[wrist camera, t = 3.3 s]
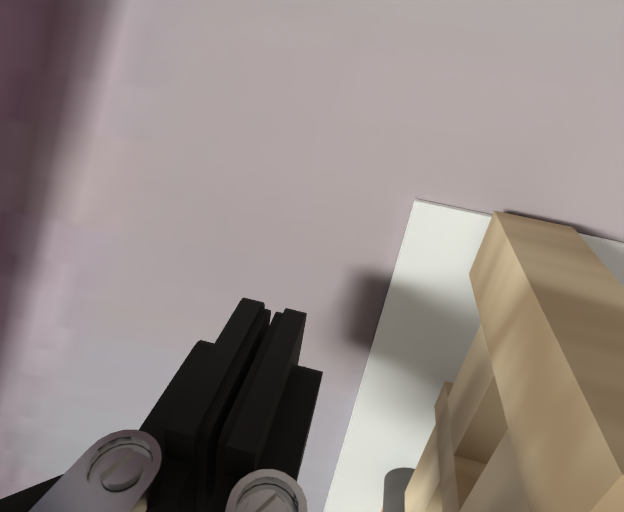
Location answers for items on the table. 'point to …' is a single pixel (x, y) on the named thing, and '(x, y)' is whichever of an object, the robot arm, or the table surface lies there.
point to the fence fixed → (396, 489)
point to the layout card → (419, 349)
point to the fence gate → (532, 383)
